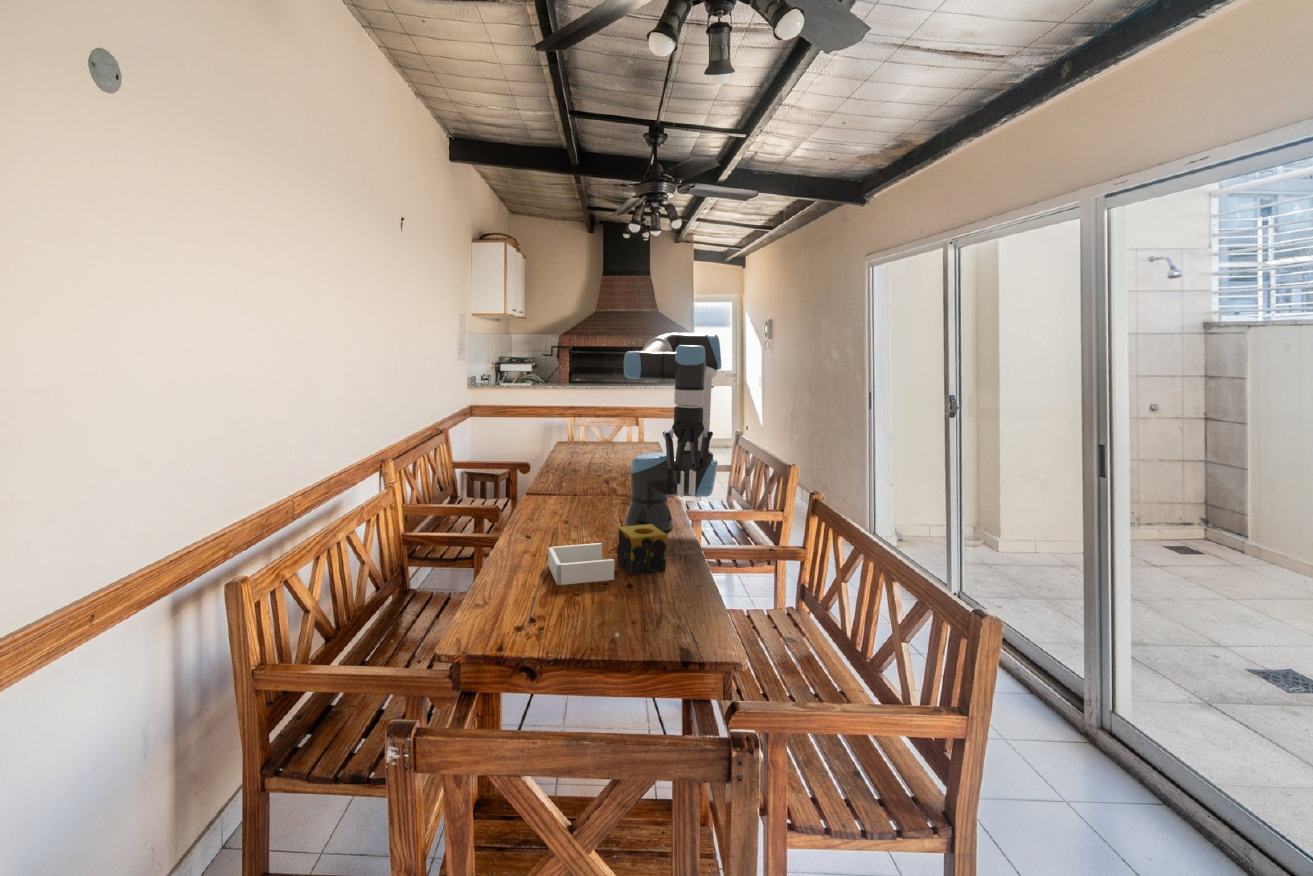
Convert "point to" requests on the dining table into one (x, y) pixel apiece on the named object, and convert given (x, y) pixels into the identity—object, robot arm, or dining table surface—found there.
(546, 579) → the dining table surface
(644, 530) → the candle
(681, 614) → the dining table surface
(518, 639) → the dining table surface
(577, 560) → the frame
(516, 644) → the dining table surface
